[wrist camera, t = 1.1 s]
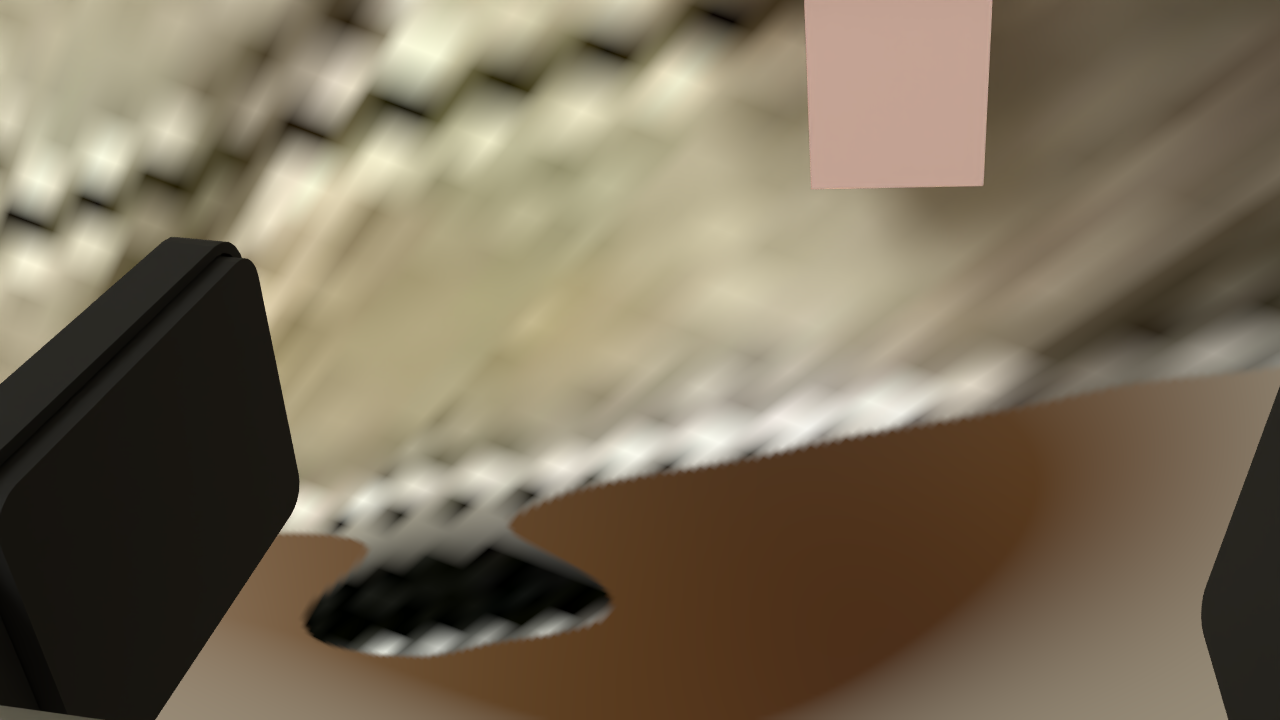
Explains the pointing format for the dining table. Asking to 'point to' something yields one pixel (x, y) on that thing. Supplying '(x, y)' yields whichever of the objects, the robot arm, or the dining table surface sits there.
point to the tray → (897, 92)
